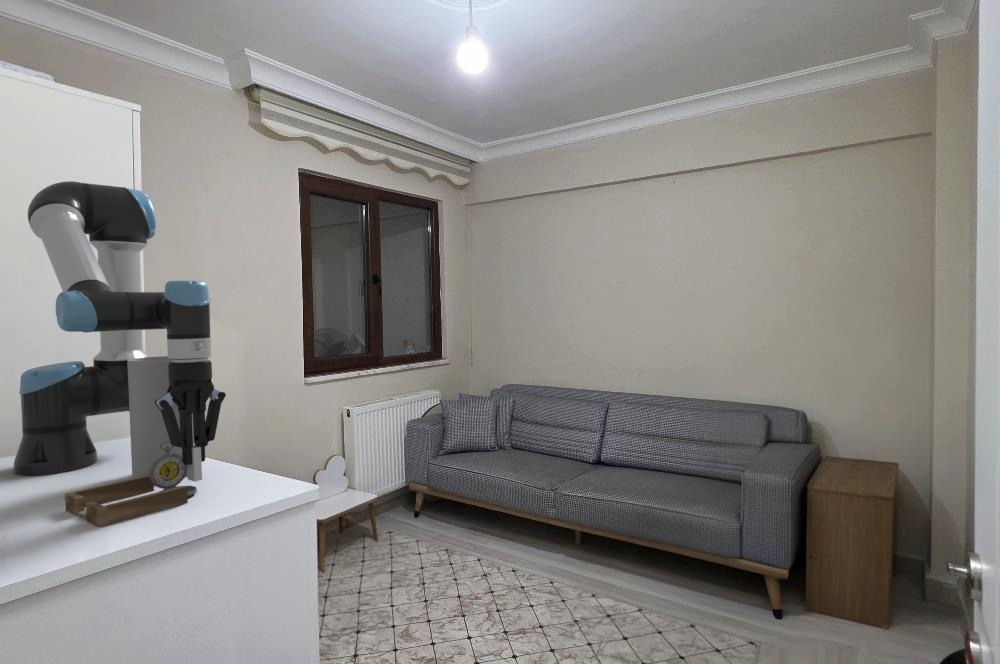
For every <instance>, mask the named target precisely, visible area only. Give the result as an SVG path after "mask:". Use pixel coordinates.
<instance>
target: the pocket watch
mask: <svg viewBox="0 0 1000 664" xmlns="http://www.w3.org/2000/svg"><path fill="white" fill-rule="evenodd" d="M166 442H170V441H166ZM166 442H163V443H162V444H164V443H166ZM162 444H161V445H160V448H161V449H163V448H162V447H161V446H162ZM166 447H167V448H165V449H163V450H164V451H166V452H167V453H166V454H165V455H162V456H160V457H159V458H157V459H156V460H155V461H154V462H153V464H152V465H151V468H150V471H149V476H150V480H151V482H152V483H153V484H154V487H156V488H158V489H162V490H159V491H158V492H160V491H164V490H168V489H172V488H176V487H180V486H181V485H180V486H179V484H180V483H181V482H182V481H183V480H184V479H185V477H186V476H185V475H186V472H187V465H185V464H183V459H182V456H180V455H178V454H172V453H169V451H170V450H171V449H172V448H173V447H174V446H172V447H171V448H170V447H169V446H166ZM173 465H177V466H176V467H174V468H176V469H174V468H173ZM176 470H177V473H173V472H175V471H176ZM167 473H168V474H167ZM165 474H166V475H165ZM161 475H162V476H161ZM160 476H161V477H160ZM164 476H166V478H167V477H168V480H164V478H163V480H162V479H161V478H162V477H164ZM169 478H171V479H169ZM185 486H186V487H187V498H189V497H191V496H193V495H195V494H197V492H198V491H197V490H198V489H197V486H193V485H185Z"/></svg>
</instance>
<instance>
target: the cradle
mask: <svg viewBox="0 0 1000 664" xmlns="http://www.w3.org/2000/svg"><path fill="white" fill-rule="evenodd" d="M186 486H187V485H180V487H177V486H176V488H172V489H168V490H164V489H163V490H164V491H162V490H159V491H160V492H159V491H158V492H153V491H155V485H154V484H153V483H152V482H151V480H150V476H149V475H145V476H141V477H137V478H128V479H125V480H120V481H115V482H110V483H107V484H102V485H97V486H94V487H89V488H84V489H81V490H80V489H79V490H75V491H71V492H68V493H67V492H66V493H64V503H65V504H64V505H65V506H64V507H65V512H68V513H70V514H71V515H73V516H75V517H78V518H80V519H82V520H84V521H86V522H88V523H90V524H92V525H94V526H96V527H97V528H102V527H106V526H110V525H113V524H117V523H119V522H124V521H127V520H131V519H135V518H138V517H143V516H146V515H149V514H152V513H157V512H160V511H164V510H167V509H171V508H175V507H178V506H182V505H185V504H188V502H189V501H188V498H189V497H187V487H186ZM149 492H153V493H149ZM145 493H146V495H145ZM147 493H149V494H147ZM140 494H144V495H142V496H138V495H140ZM133 496H137V497H134V498H130V499H125V498H129V497H133ZM121 499H125V500H122V501H118V502H114V503H110V504H106V505H103V504H105V503H109V502H113V501H117V500H121Z"/></svg>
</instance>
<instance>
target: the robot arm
mask: <svg viewBox="0 0 1000 664" xmlns="http://www.w3.org/2000/svg"><path fill="white" fill-rule="evenodd" d="M28 205H29V206H28V209H27V221H28V224H29V227H30V229H31V231H32V233H33V234H35V236H36V237H37V238H39V239H40V240H41V241H42V243H43V246H44V249H45V251H46V253H47V256H48V259H49V260H50V263H51V265H52V268H53V271H54V274H55V275H56V279H57V281H58V283H59V285H60V288H61V290H62V292H60V293H59V294H57V297H56V300H55V316H56V322H57V326H58V327H59V328H60V329H61V330H62V331H64V332H68V333H69V332H70V333H72V332H76V333H77V332H78V333H79V332H82V333H99V332H100V333H99V334H100V336H99V337H100V339H99V340H100V341H99V342H100V351H99V352H98V353H97V354H96V355H94V357H93V359H92V360H93V366H92V365H91V366H86V365H85V364H84V362H83V361H81V360H79V361H78V360H74V361H67V362H58V363H51V364H46V365H41V366H38V367H34V368H30V369H27V370H25V371H24V372H23V373H21V375H20V379H19V380H20V382H19V384H20V386H19V394H20V407H21V427H22V431H21V432H22V438H21V440H20V442H19V446H18V449H17V452H16V455H15V457H14V461H13V473H14V472H15V474H16V473H17V474H16V475H20V474H24V475H23V476H39V475H49V474H57V473H63V472H65V473H66V472H70V471H73V470H79V469H82V468H86V467H89V466H92V465H94V464H95V463H97V462H98V451H97V449H96V446H95V445H94V442H93V439H92V438H91V436H90V434H89V431H88V428H87V426H88V425H87V417H94V416H99V415H102V416H103V415H107V414H108V415H109V414H116V413H123V412H129V413H130V411H129V387H128V364H127V360H129V359H134V358H144V357H151V355H150V354H149V353H147V352H146V351H145V350H144V349H143V331H148V330H166V342H167V344H166V345H167V346H166V348H167V356H168V359H170V360H171V362H170V363H169V364H168V375H169V383H170V385H169V388H168V390H167V394H166V395H165V396H164V397H163V398H161V399H157V400H156V401H155V405H156V406H157V407H158V408H159V409H160V411H161V413H162V417H163V420H164V423H165V426H166V429H167V433H168V436H169V439H170V442H171V445H172V446H176V447H181V448H182V459H183V464H185V465H187V475H188V476H187V480H188V481H192V482H199V481H202V480H203V469H202V468H203V467H202V466H203V465H202V463H203V462H205V461H206V447H207V446H208V445H209V442H212V441H214V440H215V437H216V433H217V428H218V423H219V416H220V412H221V407H222V403H223V401H224V399H225V398H226V395H227V393H226V392H224V391H219V390H218V389H216V388H215V386H214V383H213V382H212V379H213V365H212V364H213V363H212V361H211V360H210V359H209V358H211V357H212V343H211V316H210V315H211V310H210V305H211V304H210V302H211V298H210V293H209V286H208V284H207V283H206V282H205V281H203V280H170V281H167V282H166V283H165V285H164V292H162V291H157V292H156V291H142V286H141V285H142V279H141V278H142V277H141V276H142V275H141V251H142V250H144V248H146V247H147V246H148V242H147V241H148V240H151V239H153V238H154V236H155V234H156V228H157V217H156V211H155V208H154V204H153V203H152V200H151V199H150V196H148V195H147V194H146V193H145V192H144V191H142V190H138V189H133V188H129V187H126V186H124V187H123V186H114V185H103V184H95V183H85V182H80V181H73V180H72V181H71V180H70V181H68V180H67V181H60V182H57V183H53V184H50V185H48V186H46V187H45V188H43V189H41V190H40V191H39V192H38V193H36V194H35V195H34V197H33V198H32V200H31V202H30V203H29V204H28ZM87 235H88V236H89V239H88V237H87ZM92 247H93V248H95V249H96V251H97V257H96V254H95V253H94V251H93V248H92ZM172 400H173V401H174V402H175V404H176V405H177V406H178V412H179V418H180V430H179V426H178V423H177V420H176V417H175V413H174V411H173V408H172V407H171V406H172V405H173V404H172ZM208 400H209V402H208V407H207V401H208ZM206 411H207V412H206ZM192 413H193V429H192ZM193 436H194V444H195V445H193Z"/></svg>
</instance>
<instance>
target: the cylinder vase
mask: <svg viewBox="0 0 1000 664" xmlns="http://www.w3.org/2000/svg"><path fill="white" fill-rule="evenodd" d="M170 362H171V360H170V359H168V355H164V356H163V355H162V356H161V355H160V356H150V357H144V358H134V359H129V360H127V364H128V387H129V411H130V412H129V411H128V412H129V426H130V428H129V431H130V452H131V453H130V454H131V457H130V458H131V475H132V477H133V478H137V477H141V476H145V475H149V471H150V468H151V465H152V464H153V462H154V461H155V460H156V459H157V458H159V457H160V456H162V455H165V454H166V453H167V452H166V451H164V450H163V449H165V448H167V447H166V446H169V447H170V448H171V447H172V445H171V442H166V441H170V439H169V436H168V433H167V429H166V426H165V423H164V420H163V417H162V413H161V411H160V409H159V408H158V407H157V406H156V405H155V401H156V400H157V399H161V398H163V397H164V396H165V395H166V394H167V390H168V388H169V385H170V383H169V375H168V364H169V363H170ZM172 404H173V405H172V406H171V407H172V408H173V411H174V413H175V417H176V420H177V423H178V426H179V430H180V418H179V412H178V406H177V405H176V404H175V402H174V401H173V400H172ZM192 429H193V413H192ZM163 442H166V443H164V444H162V443H163ZM161 444H162V446H161V447H162V448H163V449H161V448H160V445H161ZM193 445H195V444H194V436H193ZM169 453H172V454H178V455H180V456H182V448H181V447H176V446H174V447H173V448H172V449H171V450H170V451H169ZM176 466H177V465H173V468H174V467H176ZM174 469H176V468H174ZM173 473H177V470H176V471H175V472H173ZM167 474H168V473H167ZM165 475H166V474H165ZM161 476H162V475H161ZM161 476H160V477H161ZM185 477H188V475H187V472H186V475H185ZM163 478H164V480H168V477H167V478H166V476H164V477H162V478H161V479H162V480H163ZM169 479H171V478H169Z"/></svg>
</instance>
